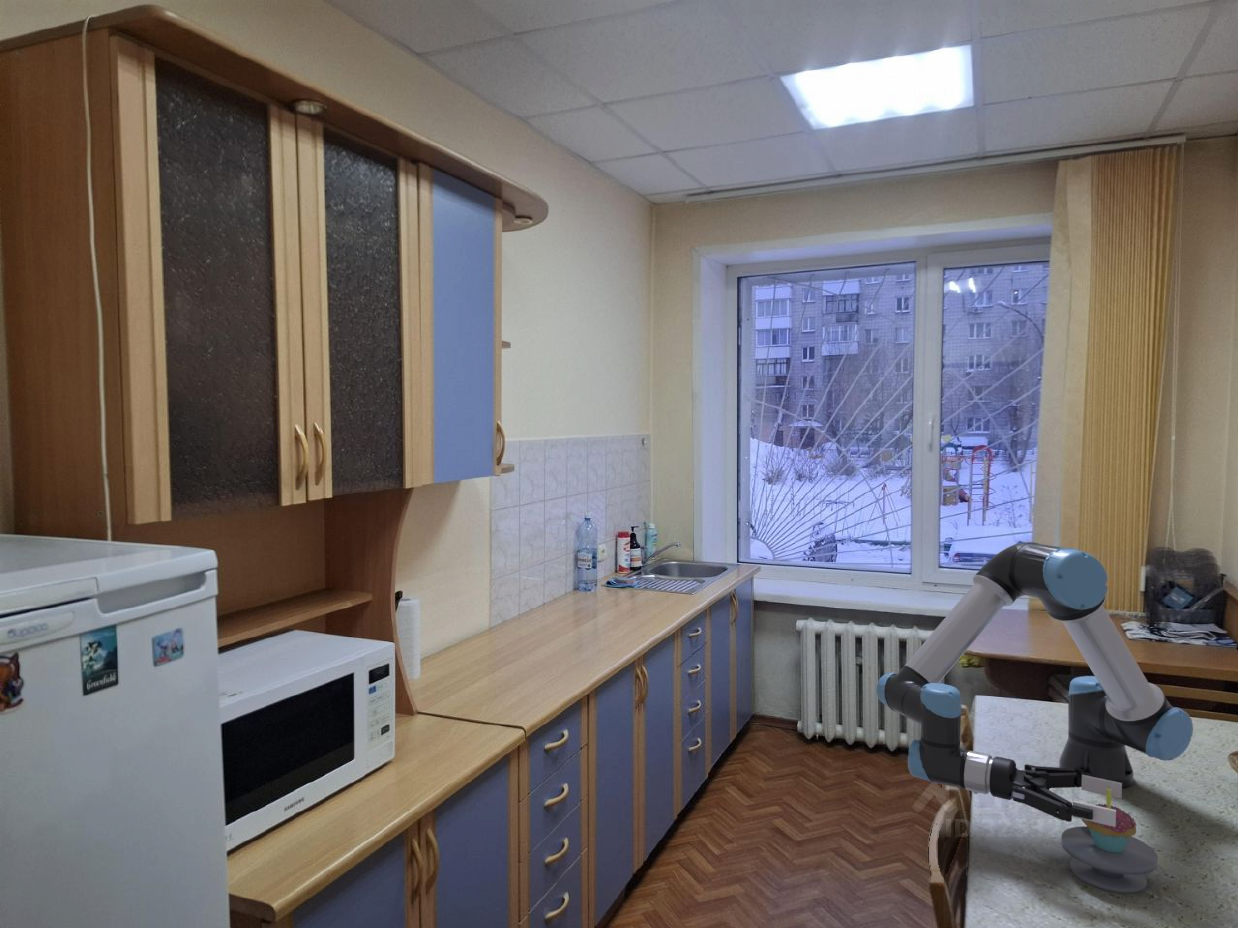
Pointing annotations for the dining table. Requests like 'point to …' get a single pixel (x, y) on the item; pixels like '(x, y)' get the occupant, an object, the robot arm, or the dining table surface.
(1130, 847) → the cake stand
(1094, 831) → the cupcake
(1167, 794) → the dining table surface
